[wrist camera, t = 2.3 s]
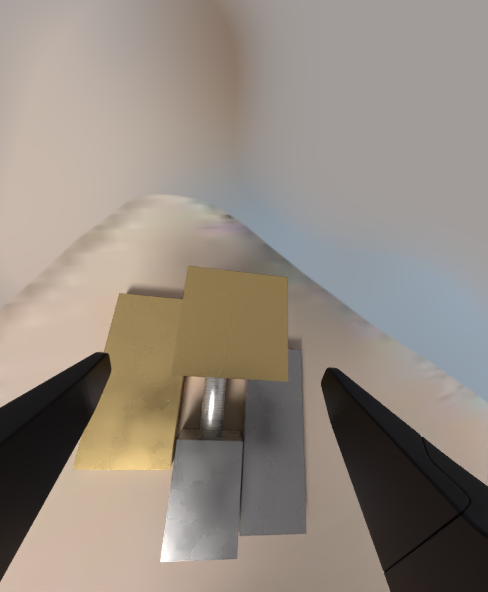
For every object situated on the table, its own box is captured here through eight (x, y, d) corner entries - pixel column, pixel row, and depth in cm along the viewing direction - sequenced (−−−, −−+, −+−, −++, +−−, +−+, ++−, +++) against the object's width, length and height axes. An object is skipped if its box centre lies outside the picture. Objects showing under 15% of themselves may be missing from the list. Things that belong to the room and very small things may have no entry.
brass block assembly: (235, 464, 16) (350, 886, 3) (81, 463, 15) (-934, 1194, 2) (244, 308, 20) (310, 191, 7) (123, 297, 19) (-77, 126, 6)
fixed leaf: (300, 523, 15) (319, 555, 13) (169, 527, 14) (160, 562, 12) (295, 318, 20) (308, 311, 18) (198, 309, 19) (196, 300, 17)
